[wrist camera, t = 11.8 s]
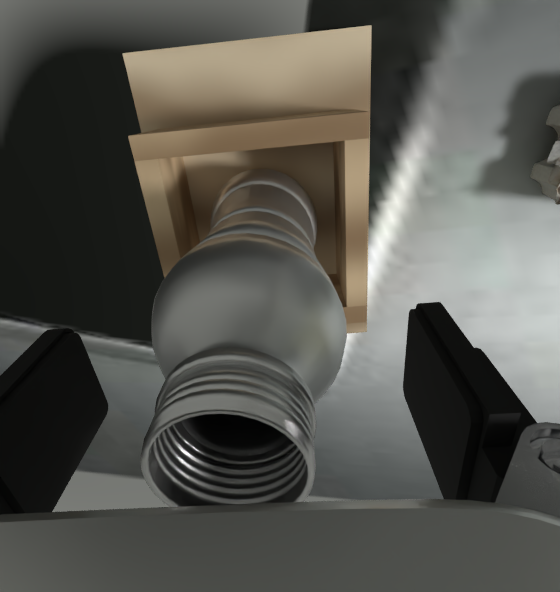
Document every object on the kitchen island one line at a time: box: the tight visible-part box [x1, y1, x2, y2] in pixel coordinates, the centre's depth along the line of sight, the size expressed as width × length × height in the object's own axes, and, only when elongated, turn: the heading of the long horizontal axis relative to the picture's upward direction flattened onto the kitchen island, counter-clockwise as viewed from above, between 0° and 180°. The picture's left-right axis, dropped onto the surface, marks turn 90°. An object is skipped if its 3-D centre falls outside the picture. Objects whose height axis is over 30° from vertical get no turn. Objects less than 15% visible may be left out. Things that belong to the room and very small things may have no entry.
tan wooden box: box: [123, 25, 371, 333], centre depth 24 cm, size 20×14×6 cm
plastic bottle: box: [140, 169, 347, 507], centre depth 17 cm, size 6×7×20 cm
